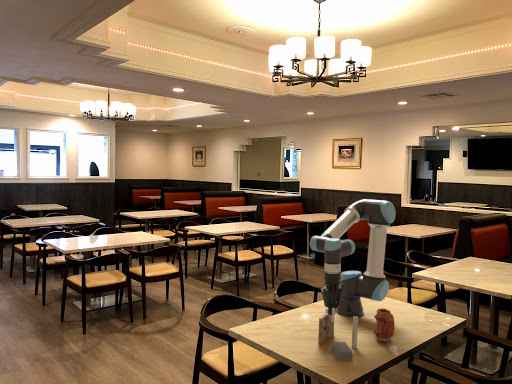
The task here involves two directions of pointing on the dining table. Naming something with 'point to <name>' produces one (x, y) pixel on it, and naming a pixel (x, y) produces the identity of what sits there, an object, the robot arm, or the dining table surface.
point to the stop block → (342, 351)
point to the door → (324, 328)
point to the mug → (384, 325)
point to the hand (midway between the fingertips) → (331, 321)
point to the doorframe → (354, 330)
